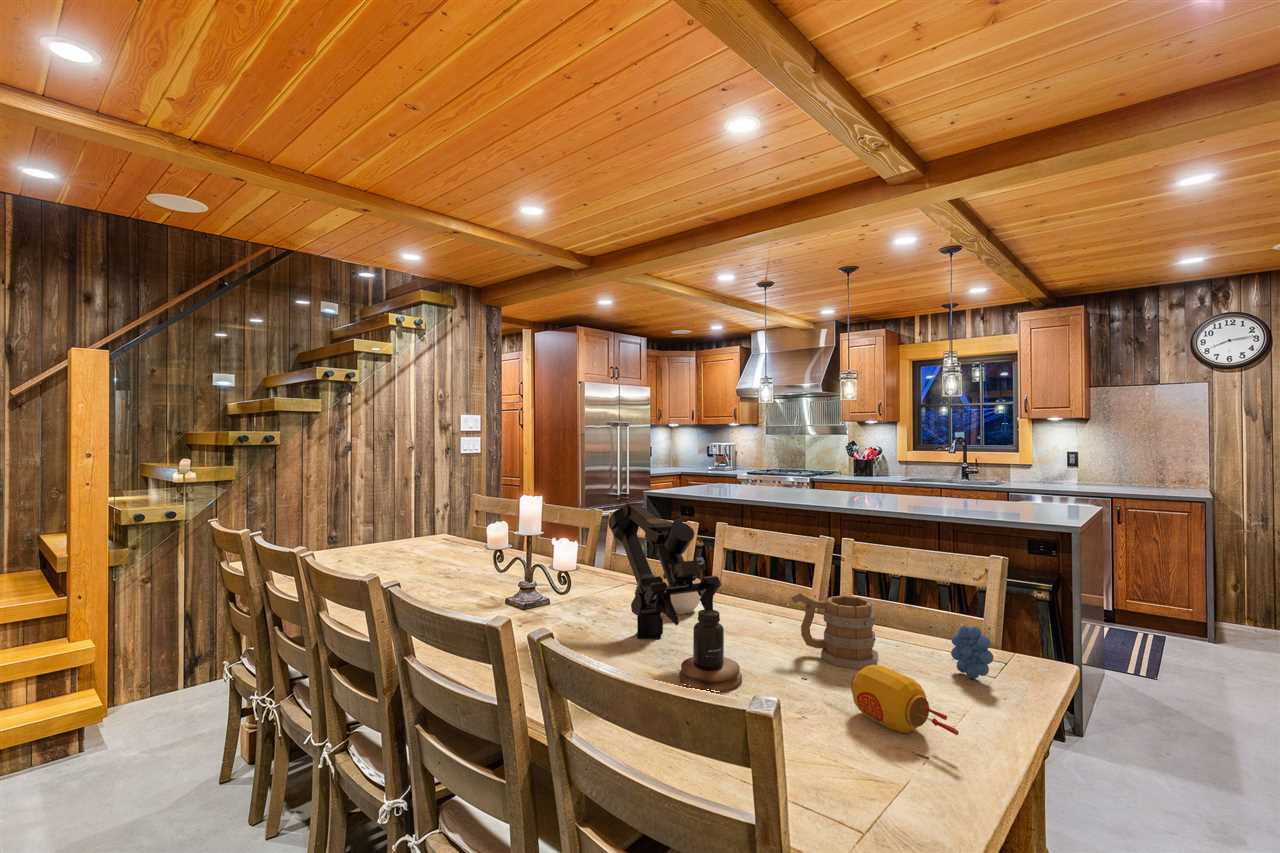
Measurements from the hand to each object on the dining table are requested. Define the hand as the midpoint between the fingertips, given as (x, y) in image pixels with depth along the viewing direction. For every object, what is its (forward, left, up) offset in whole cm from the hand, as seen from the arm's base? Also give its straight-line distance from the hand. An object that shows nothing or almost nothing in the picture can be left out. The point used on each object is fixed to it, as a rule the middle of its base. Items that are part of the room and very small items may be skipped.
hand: (695, 621), depth 143 cm
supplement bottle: (+3, -6, -8) cm, 11 cm away
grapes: (+62, -3, -11) cm, 63 cm away
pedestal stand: (+3, -6, -11) cm, 13 cm away
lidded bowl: (-3, +46, -11) cm, 47 cm away
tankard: (+34, +9, -11) cm, 37 cm away
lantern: (+36, -25, -11) cm, 45 cm away
